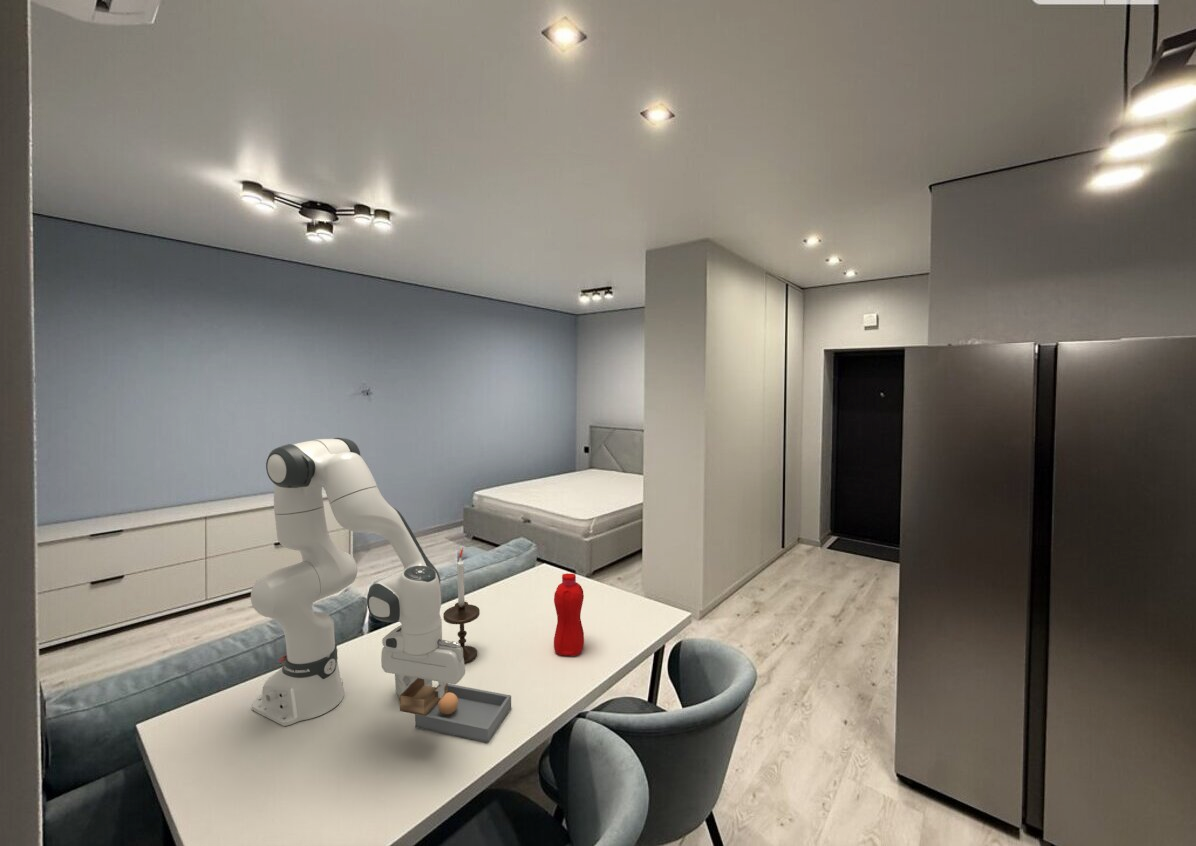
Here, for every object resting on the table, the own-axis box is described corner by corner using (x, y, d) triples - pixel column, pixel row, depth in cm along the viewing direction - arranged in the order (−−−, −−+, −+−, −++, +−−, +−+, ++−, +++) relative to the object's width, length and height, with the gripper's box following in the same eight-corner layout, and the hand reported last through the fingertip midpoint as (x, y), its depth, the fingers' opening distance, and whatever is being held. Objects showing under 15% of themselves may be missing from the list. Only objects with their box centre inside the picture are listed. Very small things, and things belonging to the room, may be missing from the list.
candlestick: (478, 644, 160) (476, 540, 157) (481, 662, 150) (479, 552, 147) (444, 650, 157) (441, 544, 154) (444, 669, 147) (441, 556, 143)
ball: (441, 687, 128) (445, 700, 130) (432, 705, 124) (437, 718, 126) (458, 688, 127) (463, 701, 129) (450, 706, 123) (455, 719, 125)
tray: (415, 727, 122) (415, 714, 122) (444, 694, 135) (444, 682, 135) (488, 743, 117) (487, 729, 117) (511, 707, 130) (511, 695, 129)
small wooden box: (399, 711, 112) (399, 696, 111) (423, 687, 120) (422, 673, 120) (426, 716, 110) (425, 701, 110) (447, 691, 119) (447, 677, 118)
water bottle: (585, 639, 163) (585, 567, 161) (581, 658, 153) (581, 581, 150) (558, 638, 164) (558, 566, 162) (552, 656, 154) (551, 579, 151)
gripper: (469, 636, 114) (470, 692, 116) (393, 625, 119) (395, 678, 121) (455, 650, 108) (456, 709, 109) (375, 638, 113) (378, 694, 115)
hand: (424, 693), depth 115 cm, fingers closed on small wooden box, 7 cm apart
